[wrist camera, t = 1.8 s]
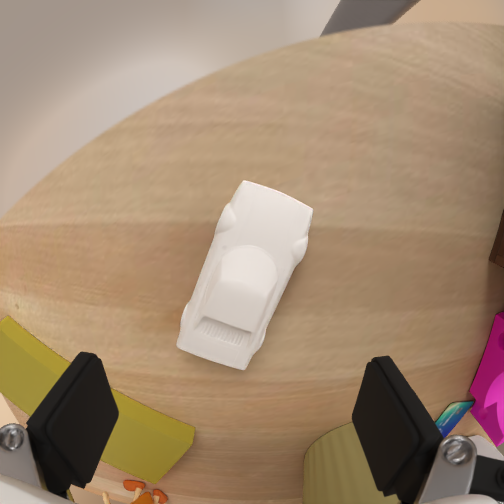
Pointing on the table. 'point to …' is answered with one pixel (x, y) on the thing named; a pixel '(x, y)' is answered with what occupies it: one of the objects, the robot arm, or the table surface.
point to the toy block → (491, 385)
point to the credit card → (452, 416)
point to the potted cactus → (340, 471)
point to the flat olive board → (130, 411)
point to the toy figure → (145, 500)
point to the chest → (499, 246)
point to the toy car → (244, 274)
